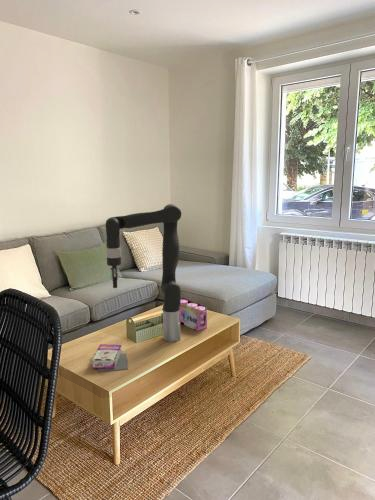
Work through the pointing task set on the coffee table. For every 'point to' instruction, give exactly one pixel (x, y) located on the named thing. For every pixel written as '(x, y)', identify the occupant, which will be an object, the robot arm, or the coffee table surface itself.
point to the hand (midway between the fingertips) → (115, 287)
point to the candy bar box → (106, 356)
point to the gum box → (193, 314)
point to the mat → (119, 366)
